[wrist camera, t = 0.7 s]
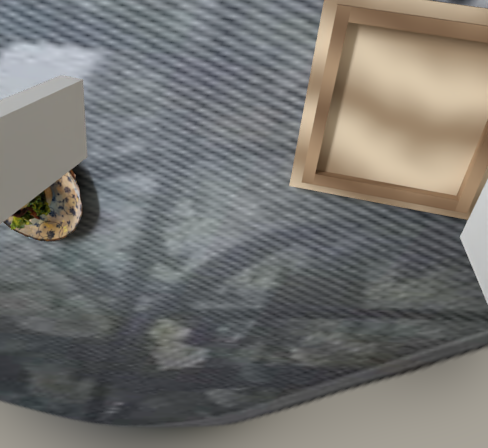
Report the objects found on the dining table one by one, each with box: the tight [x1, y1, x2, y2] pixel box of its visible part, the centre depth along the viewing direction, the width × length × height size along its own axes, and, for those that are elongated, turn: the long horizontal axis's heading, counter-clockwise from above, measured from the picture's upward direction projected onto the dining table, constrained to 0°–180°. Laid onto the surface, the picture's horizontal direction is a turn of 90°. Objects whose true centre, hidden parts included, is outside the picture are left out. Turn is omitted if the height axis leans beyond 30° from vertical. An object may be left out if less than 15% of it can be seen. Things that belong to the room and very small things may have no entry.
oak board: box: [289, 0, 488, 220], centre depth 35 cm, size 16×16×2 cm
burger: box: [4, 169, 83, 241], centre depth 44 cm, size 12×12×8 cm
